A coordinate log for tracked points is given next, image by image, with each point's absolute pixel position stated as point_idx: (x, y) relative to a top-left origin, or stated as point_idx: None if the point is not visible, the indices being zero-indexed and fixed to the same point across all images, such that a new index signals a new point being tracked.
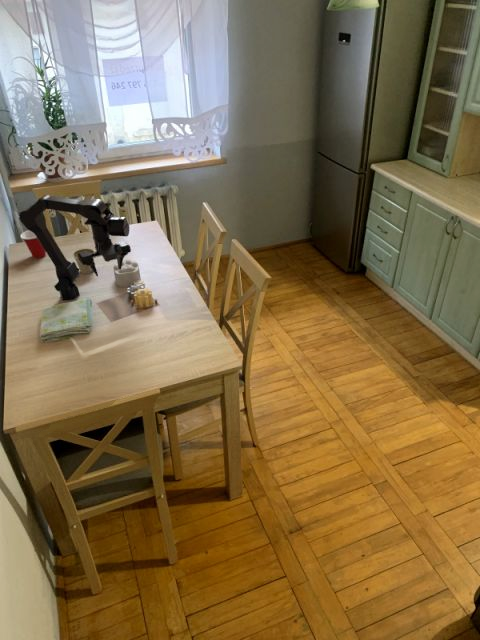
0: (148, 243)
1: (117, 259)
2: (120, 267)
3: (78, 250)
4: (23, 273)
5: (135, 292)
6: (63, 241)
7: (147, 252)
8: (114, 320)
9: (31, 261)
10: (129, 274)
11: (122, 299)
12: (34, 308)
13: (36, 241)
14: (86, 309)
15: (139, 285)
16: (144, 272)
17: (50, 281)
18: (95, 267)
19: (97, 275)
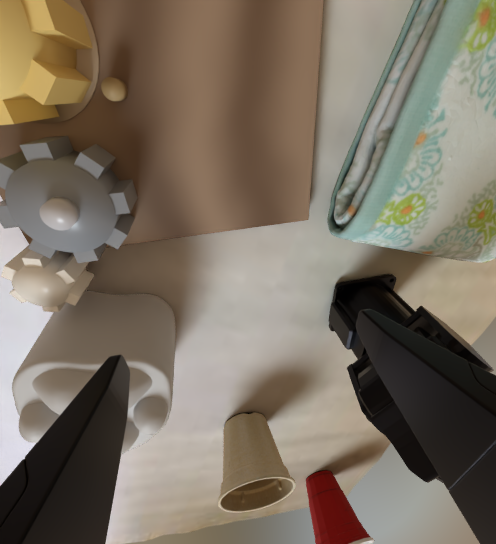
0: None
1: (101, 506)
2: (102, 376)
3: (265, 504)
4: (379, 433)
5: (38, 76)
6: None
7: None
8: None
9: (341, 463)
10: (86, 352)
11: (175, 187)
12: (465, 291)
13: (343, 528)
14: (430, 109)
15: (31, 243)
16: None
17: (351, 398)
18: (478, 399)
19: (372, 314)
